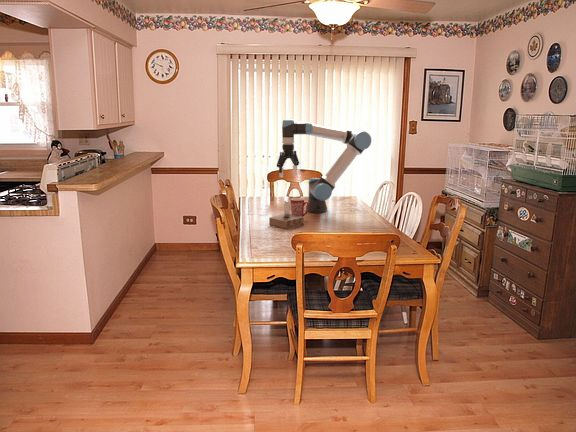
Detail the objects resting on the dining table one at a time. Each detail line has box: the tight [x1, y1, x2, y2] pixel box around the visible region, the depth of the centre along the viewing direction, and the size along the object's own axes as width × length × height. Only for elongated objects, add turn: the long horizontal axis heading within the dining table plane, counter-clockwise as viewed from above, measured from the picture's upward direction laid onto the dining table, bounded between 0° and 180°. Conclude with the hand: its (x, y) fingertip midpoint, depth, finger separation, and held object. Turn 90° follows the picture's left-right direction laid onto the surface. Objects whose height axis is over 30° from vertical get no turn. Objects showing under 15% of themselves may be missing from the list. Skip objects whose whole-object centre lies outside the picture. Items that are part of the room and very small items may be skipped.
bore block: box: [268, 213, 305, 230], centre depth 291 cm, size 16×14×5 cm
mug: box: [290, 197, 310, 218], centre depth 305 cm, size 13×9×14 cm
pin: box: [283, 200, 291, 218], centre depth 290 cm, size 3×3×14 cm
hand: (288, 176), depth 312 cm, fingers open, 13 cm apart
